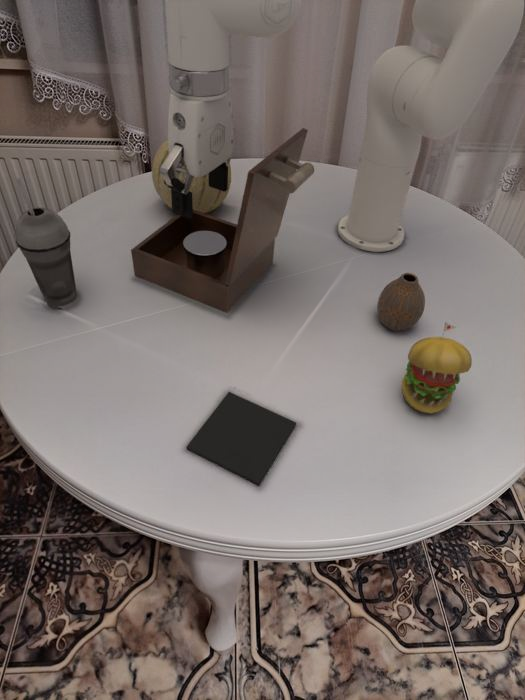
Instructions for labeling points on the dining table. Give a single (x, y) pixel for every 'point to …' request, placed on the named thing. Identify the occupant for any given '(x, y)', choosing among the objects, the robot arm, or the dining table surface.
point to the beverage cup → (47, 252)
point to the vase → (401, 303)
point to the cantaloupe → (201, 191)
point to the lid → (267, 202)
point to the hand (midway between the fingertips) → (201, 201)
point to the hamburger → (434, 372)
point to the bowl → (205, 252)
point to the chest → (172, 273)
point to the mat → (242, 437)
